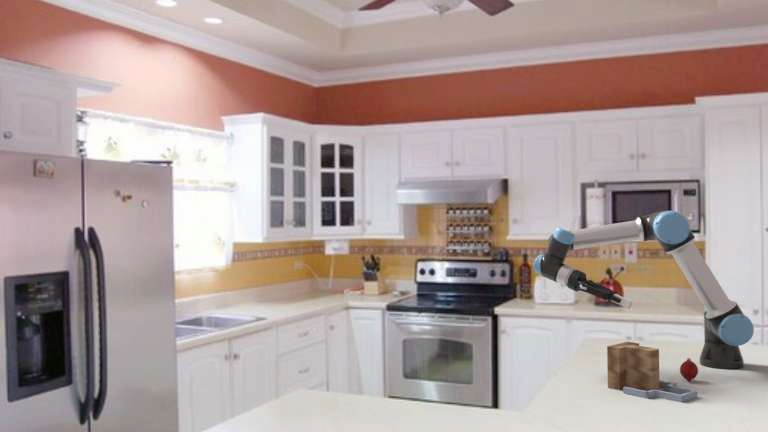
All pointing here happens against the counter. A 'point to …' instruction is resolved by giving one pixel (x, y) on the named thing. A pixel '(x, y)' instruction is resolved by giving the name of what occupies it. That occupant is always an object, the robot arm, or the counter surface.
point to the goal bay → (670, 387)
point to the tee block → (633, 366)
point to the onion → (688, 370)
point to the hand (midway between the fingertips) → (630, 305)
